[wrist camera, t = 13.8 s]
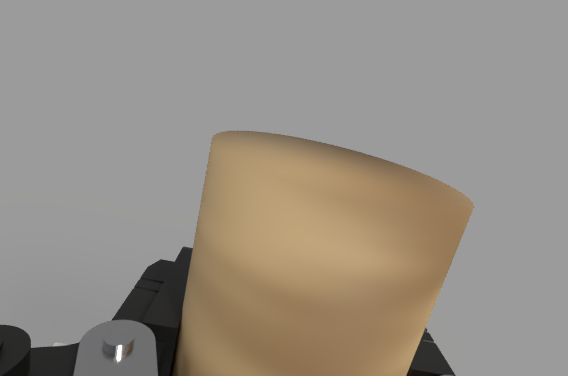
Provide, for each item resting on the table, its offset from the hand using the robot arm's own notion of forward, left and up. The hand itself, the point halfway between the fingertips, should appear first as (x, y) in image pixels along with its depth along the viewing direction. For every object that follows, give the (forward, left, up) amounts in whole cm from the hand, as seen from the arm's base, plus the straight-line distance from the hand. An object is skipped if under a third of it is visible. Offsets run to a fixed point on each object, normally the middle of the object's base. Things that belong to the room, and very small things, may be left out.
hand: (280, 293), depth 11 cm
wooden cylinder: (0, -3, -7) cm, 8 cm away
